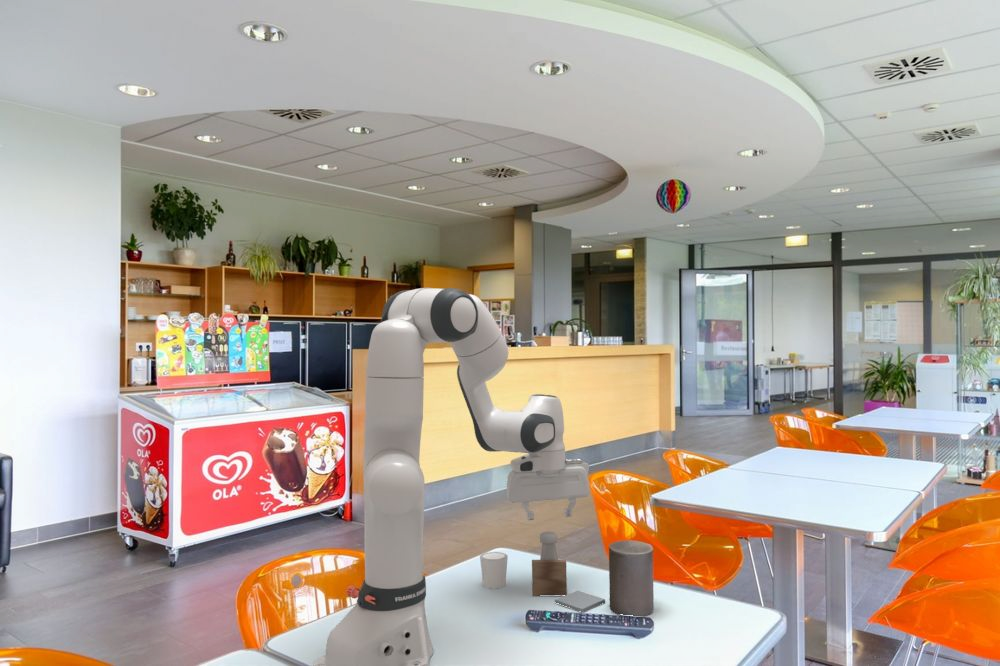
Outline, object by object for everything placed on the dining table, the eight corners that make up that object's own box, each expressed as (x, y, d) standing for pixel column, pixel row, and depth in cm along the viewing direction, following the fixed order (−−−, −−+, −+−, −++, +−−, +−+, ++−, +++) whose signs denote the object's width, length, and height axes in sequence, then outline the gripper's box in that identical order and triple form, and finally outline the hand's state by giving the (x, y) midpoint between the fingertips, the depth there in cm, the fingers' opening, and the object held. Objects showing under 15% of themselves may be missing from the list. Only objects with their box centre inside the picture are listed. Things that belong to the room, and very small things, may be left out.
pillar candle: (601, 605, 153) (599, 538, 153) (636, 597, 157) (635, 532, 157) (626, 621, 144) (625, 550, 144) (663, 612, 148) (662, 543, 148)
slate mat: (582, 612, 148) (582, 609, 148) (554, 603, 154) (554, 599, 154) (605, 602, 154) (605, 599, 154) (577, 593, 160) (577, 590, 160)
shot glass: (482, 579, 171) (482, 551, 171) (509, 580, 170) (509, 551, 170) (478, 589, 164) (477, 559, 165) (506, 589, 163) (505, 560, 164)
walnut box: (566, 593, 160) (566, 559, 160) (566, 596, 158) (566, 561, 159) (532, 593, 160) (531, 559, 161) (532, 596, 159) (531, 561, 159)
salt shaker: (562, 591, 162) (561, 536, 162) (538, 591, 162) (537, 536, 162) (560, 582, 168) (559, 529, 168) (537, 582, 168) (536, 529, 168)
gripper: (584, 455, 170) (586, 511, 170) (504, 461, 167) (506, 518, 167) (592, 460, 164) (594, 517, 164) (508, 465, 161) (511, 524, 160)
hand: (549, 518), depth 165 cm, fingers open, 8 cm apart
